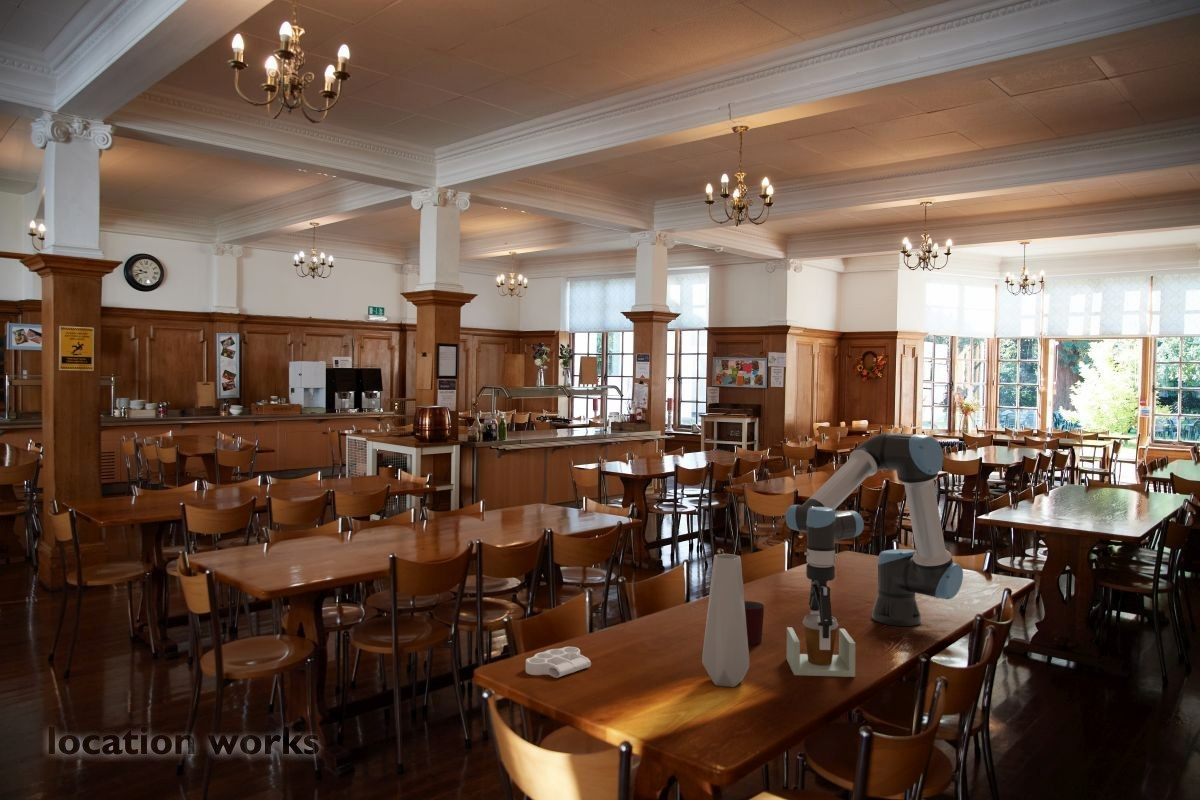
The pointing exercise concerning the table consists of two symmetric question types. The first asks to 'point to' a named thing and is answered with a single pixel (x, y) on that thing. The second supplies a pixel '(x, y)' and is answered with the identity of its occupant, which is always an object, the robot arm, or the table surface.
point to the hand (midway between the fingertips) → (819, 641)
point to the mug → (754, 621)
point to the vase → (726, 624)
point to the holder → (838, 667)
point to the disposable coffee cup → (813, 638)
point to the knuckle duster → (557, 662)
